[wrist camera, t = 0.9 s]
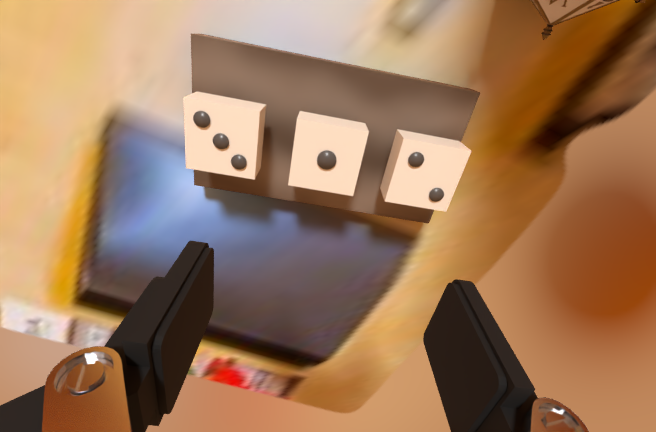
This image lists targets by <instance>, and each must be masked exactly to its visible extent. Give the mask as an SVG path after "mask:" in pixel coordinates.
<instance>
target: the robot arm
mask: <svg viewBox="0 0 656 432" xmlns="http://www.w3.org/2000/svg"><path fill="white" fill-rule="evenodd" d="M213 292H214V250H213V248H209V246H208V243H203V242H196V241H189V242H188V243H187V245H186V246H185V248H184V249H183V251H182V252H181V254H180V255H179V257H178V258H177V260H176V261H175V263H174V264H173V266H172V267H171V269H170V270H169V272H168V273H167V275H166V276H165V278H164V277H155V278H154V279H153V280H152V281H151V282H150V283H149V285H148V286H147V288H146V289H145V290H144V292H143V293H142V295H141V296H140V297H139V299H138V300H137V302H136V303H135V304H134V306H133V307H132V308H131V310H130V311H129V313H128V314H127V315H126V317H125V318H124V320H123V321H122V322H121V324H120V325H119V327H118V328H117V329H116V331H115V332H114V334H113V335H112V336H111V338H110V339H109V341H108V342H107V343H106V345H105V346H104V347H101V346H95V347H90V348H85V349H82V350H79V351H77V352H75V353H72V354H71V355H69V356H68V357H66V358H64V359H63V360H62V361H60V363H58V364H57V365H56V366H55V367H54V368H53V369H52V371H51V372H50V374H49V375H48V377H47V380H46V383H45V385H44V386H42V387H40V388H38V389H35V390H34V391H31V392H29V393H27V394H25V395H22V396H20V397H18V398H16V399H14V400H11V401H9V402H7V403H5V404H3V405H1V406H0V432H145V431H146V429H147V427H148V425H154V426H159V424H160V422H161V419H162V417H163V415H164V414H170V413H171V411H172V409H173V407H174V404H175V402H176V400H177V397H178V395H179V392H180V390H181V387H182V385H183V383H184V380H185V378H186V375H187V373H188V371H189V368H190V366H191V363H192V361H193V359H194V356H195V354H196V351H197V349H198V347H199V344H200V342H201V339H202V337H203V335H204V332H205V330H206V327H207V325H208V323H209V320H210V318H211V315H212V311H213ZM423 340H424V345H425V348H426V352H427V355H428V358H429V361H430V365H431V368H432V371H433V374H434V378H435V381H436V384H437V387H438V391H439V394H440V397H441V400H442V404H443V407H444V410H445V413H446V417H447V420H448V423H449V426H450V430H451V432H589V431H588V429H587V427H586V426H585V424H584V423H583V422H582V421H581V419H580V418H579V417H578V416H577V415H576V414H575V413H574V412H572V411H571V410H570V409H569V408H568V407H566V406H565V405H563V404H562V403H560V402H558V401H556V400H553V399H550V398H546V397H543V398H537V396H536V394H535V392H534V390H535V388H534V386H533V385H532V383H531V381H530V379H529V378H528V376H527V374H526V373H525V371H524V369H523V367H522V366H521V364H520V362H519V361H518V359H517V357H516V355H515V354H514V352H513V350H512V349H511V347H510V345H509V343H508V342H507V340H506V338H505V337H504V335H503V333H502V331H501V330H500V328H499V326H498V324H497V323H496V321H495V319H494V318H493V316H492V314H491V312H490V311H489V309H488V308H487V306H486V304H485V302H484V301H483V299H482V297H481V295H480V294H479V292H478V290H477V289H476V287H475V285H474V284H473V282H470V281H463V280H454V281H453V282H452V283H449V284H448V285H447V287H446V289H445V291H444V293H443V295H442V297H441V299H440V301H439V303H438V305H437V308H436V310H435V312H434V314H433V316H432V318H431V320H430V322H429V324H428V326H427V328H426V331H425V333H424V338H423Z"/></svg>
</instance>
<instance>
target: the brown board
mask: <svg viewBox="0 0 656 432" xmlns="http://www.w3.org/2000/svg"><path fill="white" fill-rule="evenodd" d="M191 58H192V93H194V92H197V91H198V92H203V93H208V94H214V95H219V96H224V97H229V98H235V99H240V100H245V101H251V102H256V103H261V104H266V113H265V125H264V136H263V148H262V160H261V168H260V170H259V172H258V174H257V176H256V178H255V180H254V179H248V178H242V177H236V176H230V175H224V174H218V173H212V172H206V171H200V170H194V185H197V186H204V187H210V188H216V189H222V190H228V191H234V192H240V193H246V194H252V195H259V196H265V197H271V198H277V199H283V200H289V201H295V202H301V203H307V204H314V205H320V206H326V207H332V208H338V209H344V210H350V211H356V212H363V213H369V214H375V215H381V216H387V217H393V218H399V219H405V220H411V221H418V222H424V223H429V221H430V219H431V216H432V214H433V211H434V210H433V209H427V208H421V207H415V206H409V205H403V204H397V203H391V202H385V201H384V198H383V195H382V192H381V189H380V187H381V183H382V180H383V176H384V173H385V169H386V166H387V162H388V159H389V156H390V152H391V149H392V145H393V142H394V138H395V135H396V131H397V129H399V130H404V131H409V132H415V133H420V134H425V135H431V136H436V137H441V138H447V139H452V140H457V141H460V142H461V140H462V138H463V135H464V133H465V130H466V128H467V125H468V122H469V120H470V117H471V115H472V112H473V110H474V107H475V105H476V102H477V100H478V97H479V95H480V93H479V92H477V91H474V90H472V89H468V88H463V87H458V86H453V85H448V84H443V83H439V82H434V81H429V80H424V79H419V78H414V77H409V76H404V75H399V74H395V73H390V72H385V71H380V70H375V69H370V68H365V67H360V66H355V65H351V64H346V63H341V62H336V61H331V60H326V59H321V58H316V57H311V56H307V55H302V54H297V53H292V52H287V51H282V50H277V49H272V48H267V47H263V46H258V45H253V44H248V43H243V42H238V41H233V40H228V39H223V38H219V37H214V36H209V35H204V34H191ZM300 111H304V112H309V113H314V114H319V115H325V116H330V117H335V118H341V119H346V120H351V121H356V122H362V123H365V124H366V126H367V128H368V131H369V134H368V138H367V142H366V146H365V150H364V154H363V158H362V162H361V166H360V170H359V174H358V178H357V182H356V186H355V190H354V194H353V196H349V195H343V194H337V193H331V192H325V191H320V190H314V189H308V188H302V187H296V186H290V185H288V182H289V174H290V167H291V160H292V152H293V145H294V137H295V130H296V122H297V117H298V114H299V112H300Z"/></svg>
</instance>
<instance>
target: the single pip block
mask: <svg viewBox="0 0 656 432" xmlns="http://www.w3.org/2000/svg"><path fill="white" fill-rule="evenodd" d="M368 134H369V131H368V128H367V126H366V124H365V123H362V122H356V121H351V120H346V119H341V118H335V117H330V116H325V115H319V114H314V113H309V112H304V111H300V112H299V114H298V117H297V122H296V130H295V137H294V145H293V152H292V160H291V167H290V174H289V182H288V185H290V186H296V187H302V188H308V189H314V190H320V191H325V192H331V193H337V194H343V195H349V196H353V194H354V190H355V186H356V182H357V178H358V174H359V170H360V166H361V162H362V158H363V154H364V150H365V146H366V142H367V138H368Z"/></svg>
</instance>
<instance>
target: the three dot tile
mask: <svg viewBox="0 0 656 432" xmlns="http://www.w3.org/2000/svg"><path fill="white" fill-rule="evenodd" d="M183 98H184V126H185V154H186V168H188V169H194V170H200V171H206V172H212V173H218V174H224V175H230V176H236V177H242V178H248V179H254V180H255V178H256V176H257V174H258V172H259V170H260V168H261V160H262V148H263V136H264V125H265V113H266V104H261V103H256V102H251V101H245V100H240V99H235V98H229V97H224V96H219V95H214V94H208V93H203V92H198V91H197V92H194V93H192V94H190V95H188V96H185V97H183Z"/></svg>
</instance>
